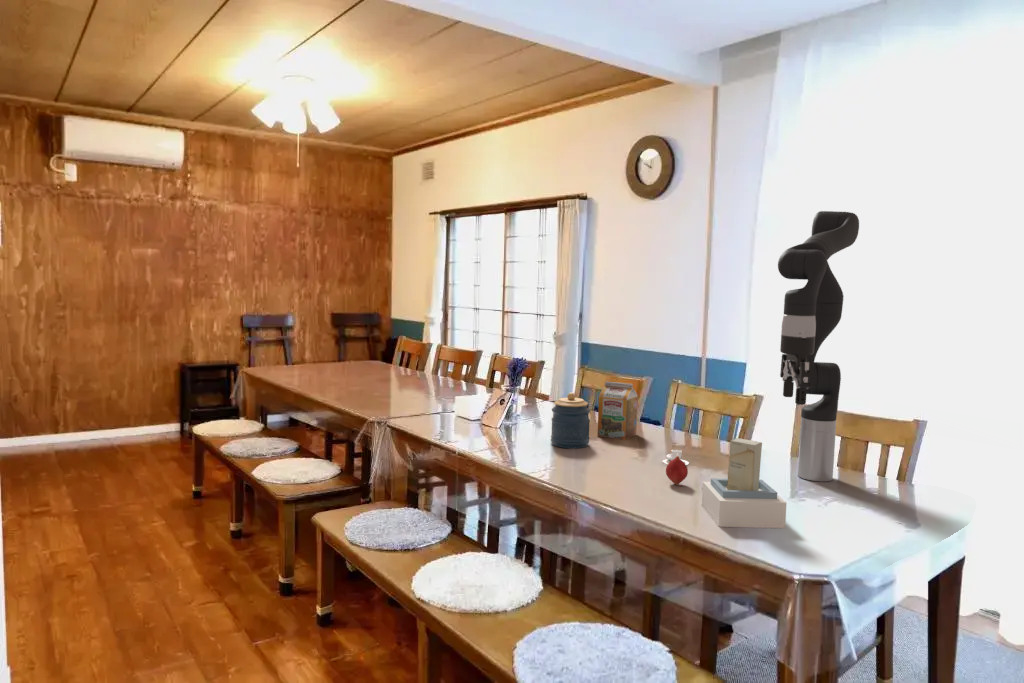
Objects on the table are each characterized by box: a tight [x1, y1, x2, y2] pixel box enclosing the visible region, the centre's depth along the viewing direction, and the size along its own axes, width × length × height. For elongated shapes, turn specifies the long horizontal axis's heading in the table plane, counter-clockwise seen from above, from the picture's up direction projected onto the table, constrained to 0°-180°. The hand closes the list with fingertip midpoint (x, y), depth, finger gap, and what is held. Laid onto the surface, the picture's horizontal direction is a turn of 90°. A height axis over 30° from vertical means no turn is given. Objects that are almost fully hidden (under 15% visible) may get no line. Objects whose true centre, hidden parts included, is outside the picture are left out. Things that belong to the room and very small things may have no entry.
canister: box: [550, 392, 591, 449], centre depth 233 cm, size 13×13×18 cm
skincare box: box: [727, 437, 763, 491], centre depth 164 cm, size 6×4×12 cm
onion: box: [665, 456, 689, 485], centre depth 190 cm, size 6×6×8 cm
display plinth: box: [701, 478, 788, 529], centre depth 165 cm, size 15×15×8 cm
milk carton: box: [597, 381, 639, 441], centre depth 249 cm, size 11×11×19 cm
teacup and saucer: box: [662, 449, 690, 466], centre depth 214 cm, size 9×8×4 cm
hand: (794, 400), depth 168 cm, fingers open, 8 cm apart
